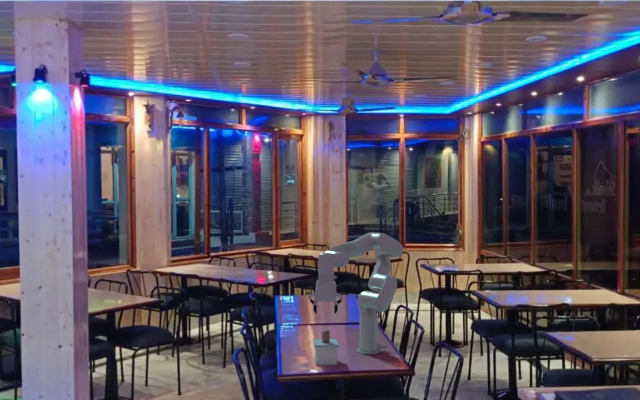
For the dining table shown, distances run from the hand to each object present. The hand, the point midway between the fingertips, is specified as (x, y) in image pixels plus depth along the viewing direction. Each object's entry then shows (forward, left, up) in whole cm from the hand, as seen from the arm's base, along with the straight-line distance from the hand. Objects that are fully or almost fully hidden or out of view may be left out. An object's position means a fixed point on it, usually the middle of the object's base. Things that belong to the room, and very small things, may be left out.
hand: (325, 313), depth 297 cm
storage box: (0, 0, -24) cm, 24 cm away
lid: (0, 0, -15) cm, 15 cm away
